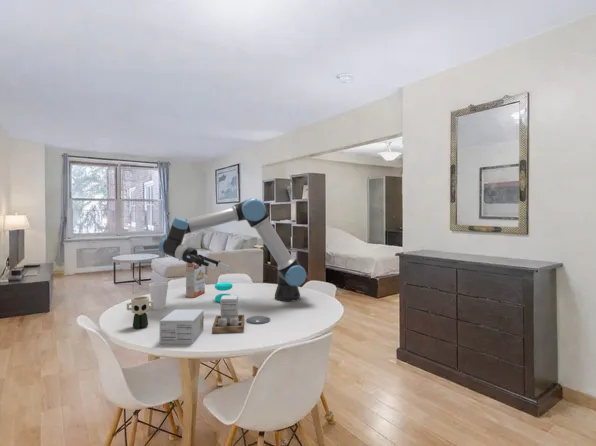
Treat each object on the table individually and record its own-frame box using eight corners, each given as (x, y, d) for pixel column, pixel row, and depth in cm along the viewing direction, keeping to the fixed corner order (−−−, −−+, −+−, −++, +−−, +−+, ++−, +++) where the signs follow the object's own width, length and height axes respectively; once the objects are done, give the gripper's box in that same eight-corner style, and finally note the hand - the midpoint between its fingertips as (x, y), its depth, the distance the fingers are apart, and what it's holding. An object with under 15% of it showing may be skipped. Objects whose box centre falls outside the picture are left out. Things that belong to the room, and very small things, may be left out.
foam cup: (172, 307, 194) (171, 283, 194) (158, 311, 186) (158, 286, 185) (158, 305, 198) (158, 281, 198) (145, 309, 190) (145, 284, 189)
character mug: (126, 331, 155) (126, 301, 154) (127, 326, 161) (126, 297, 161) (154, 327, 159) (153, 298, 159) (153, 323, 166) (153, 295, 165)
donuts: (226, 281, 215) (235, 283, 207) (226, 297, 215) (235, 300, 208) (211, 283, 208) (220, 286, 201) (211, 300, 208) (220, 303, 201)
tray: (244, 319, 171) (244, 309, 171) (243, 332, 153) (243, 320, 153) (216, 320, 169) (216, 310, 169) (212, 333, 151) (212, 321, 151)
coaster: (269, 316, 176) (269, 315, 176) (270, 323, 165) (270, 322, 165) (246, 317, 175) (246, 316, 175) (246, 324, 164) (246, 323, 164)
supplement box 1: (193, 344, 140) (193, 320, 139) (159, 344, 140) (158, 320, 139) (204, 330, 157) (204, 308, 156) (173, 330, 156) (173, 308, 156)
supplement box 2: (222, 322, 167) (222, 295, 167) (238, 321, 168) (238, 294, 168) (220, 327, 160) (220, 299, 160) (237, 326, 161) (237, 298, 160)
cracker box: (194, 298, 214) (194, 263, 214) (185, 297, 215) (185, 262, 215) (205, 293, 228) (205, 260, 227) (196, 292, 229) (196, 259, 228)
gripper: (198, 262, 191) (231, 276, 183) (168, 259, 167) (205, 274, 160) (203, 249, 191) (236, 262, 184) (173, 244, 168) (211, 258, 160)
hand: (222, 268), depth 172 cm, fingers open, 13 cm apart
